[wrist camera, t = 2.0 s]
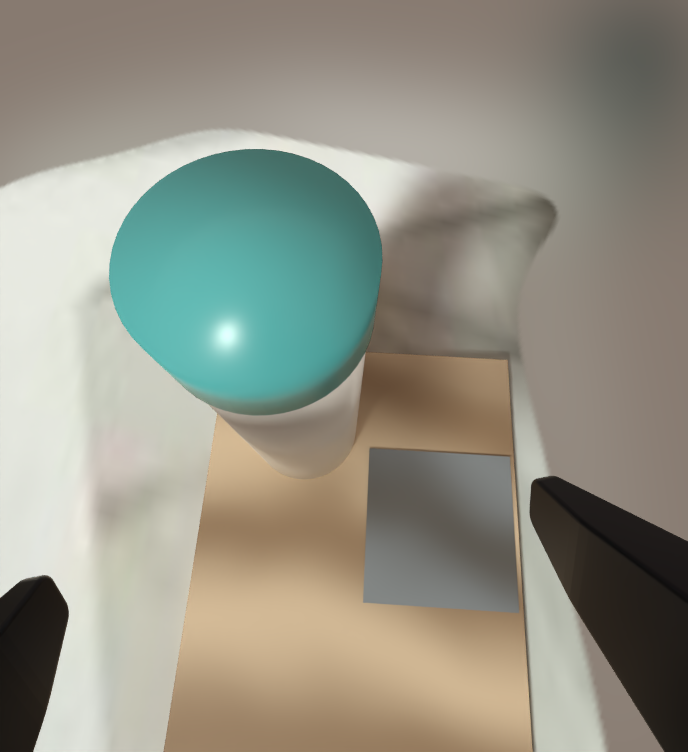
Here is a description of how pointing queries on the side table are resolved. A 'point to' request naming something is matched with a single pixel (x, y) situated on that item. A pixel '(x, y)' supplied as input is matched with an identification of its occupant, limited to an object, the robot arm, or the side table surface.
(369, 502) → the board
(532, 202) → the side table surface
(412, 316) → the side table surface
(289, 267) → the ball
